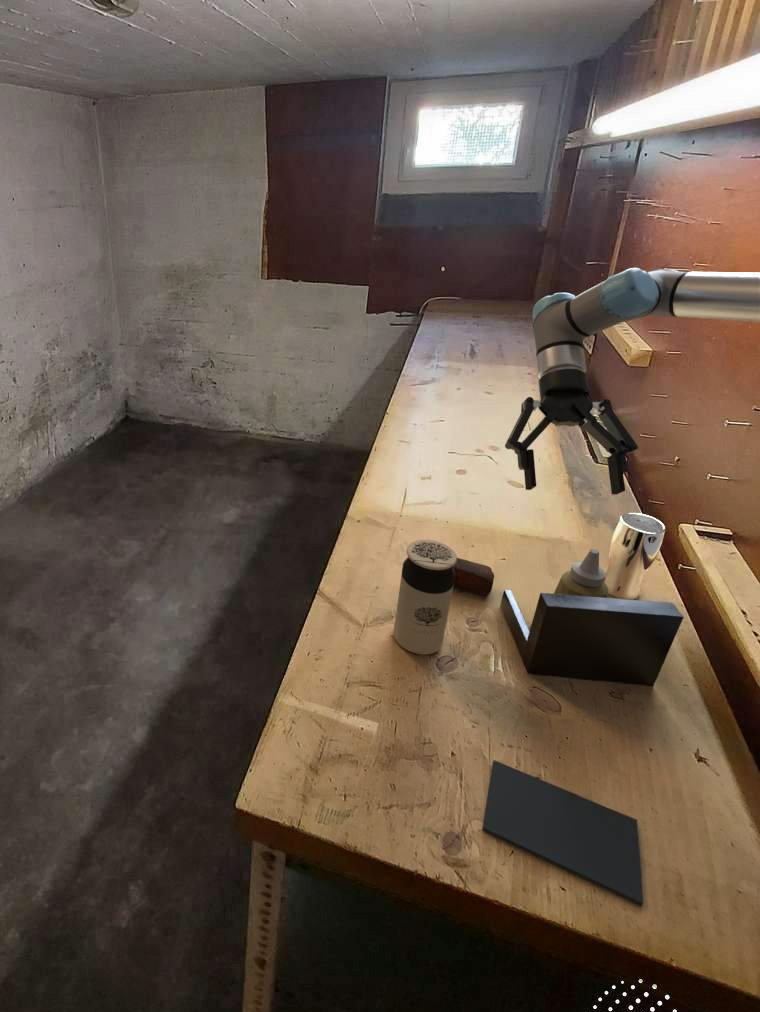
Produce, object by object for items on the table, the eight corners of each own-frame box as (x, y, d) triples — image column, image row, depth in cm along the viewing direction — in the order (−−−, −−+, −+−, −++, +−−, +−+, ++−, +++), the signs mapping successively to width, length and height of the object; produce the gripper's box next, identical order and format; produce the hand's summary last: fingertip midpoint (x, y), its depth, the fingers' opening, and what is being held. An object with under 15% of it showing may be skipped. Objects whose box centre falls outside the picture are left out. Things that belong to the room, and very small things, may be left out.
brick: (430, 581, 109) (433, 562, 107) (433, 570, 112) (437, 551, 110) (489, 599, 104) (494, 579, 102) (491, 586, 107) (496, 566, 105)
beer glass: (648, 592, 104) (674, 524, 97) (630, 607, 101) (656, 539, 94) (607, 572, 109) (630, 507, 103) (589, 586, 106) (611, 520, 99)
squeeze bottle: (531, 620, 99) (554, 536, 91) (578, 620, 98) (606, 535, 90) (554, 656, 91) (582, 567, 84) (605, 655, 91) (638, 567, 83)
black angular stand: (499, 606, 102) (515, 543, 96) (607, 615, 99) (630, 550, 93) (527, 674, 88) (547, 606, 82) (653, 686, 86) (684, 617, 79)
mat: (635, 822, 68) (637, 819, 68) (641, 906, 61) (643, 903, 60) (492, 762, 76) (493, 759, 75) (482, 830, 68) (483, 827, 68)
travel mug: (396, 616, 101) (407, 534, 93) (443, 628, 98) (459, 543, 90) (390, 648, 94) (402, 562, 86) (440, 661, 91) (458, 573, 83)
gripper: (626, 386, 102) (643, 499, 96) (482, 383, 106) (488, 491, 100) (650, 368, 95) (670, 488, 89) (495, 365, 99) (503, 480, 93)
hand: (574, 490), depth 94 cm, fingers open, 13 cm apart
